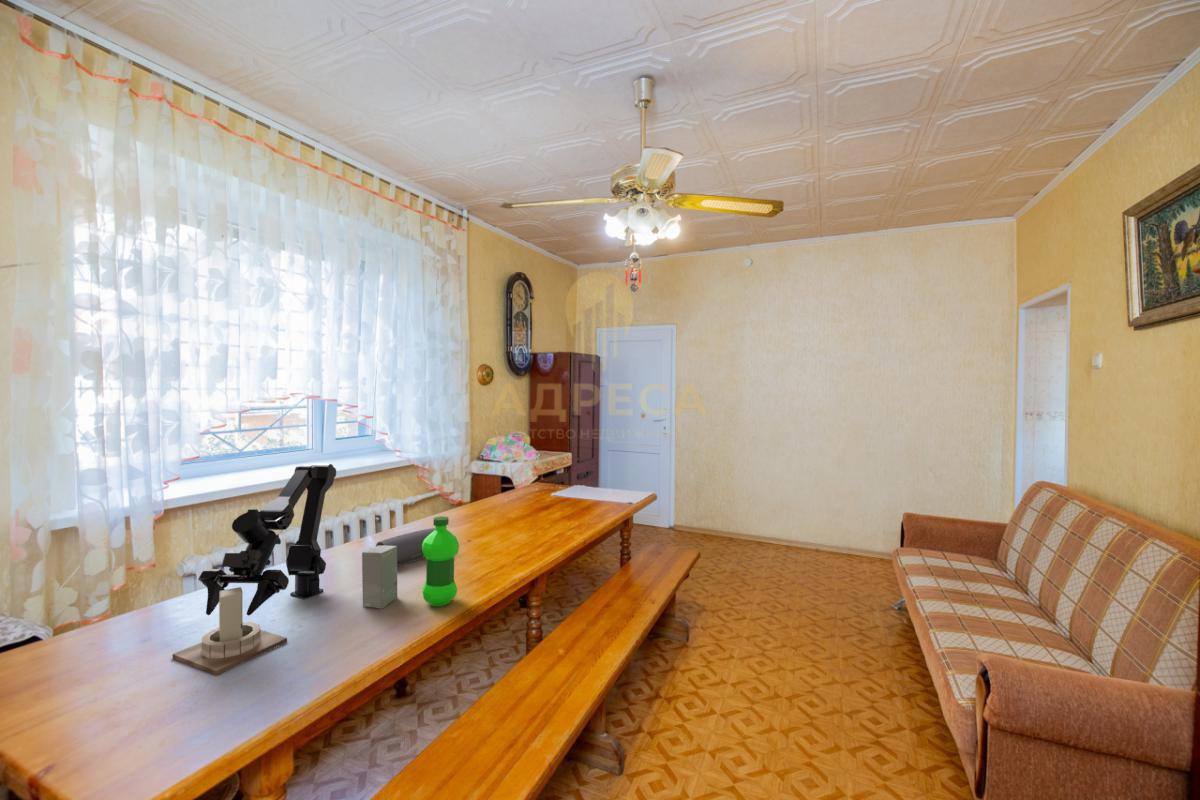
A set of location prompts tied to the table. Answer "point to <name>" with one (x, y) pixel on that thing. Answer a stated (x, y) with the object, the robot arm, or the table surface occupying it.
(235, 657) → the ring socket
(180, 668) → the table surface
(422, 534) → the bluetooth speaker
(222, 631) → the box
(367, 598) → the skincare box
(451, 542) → the plastic bottle
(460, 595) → the table surface
